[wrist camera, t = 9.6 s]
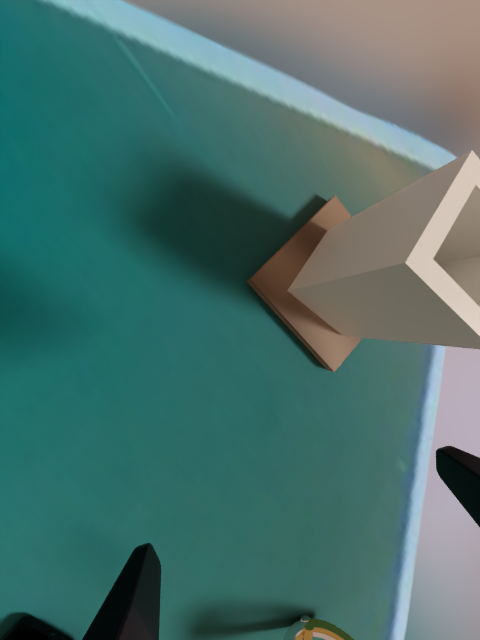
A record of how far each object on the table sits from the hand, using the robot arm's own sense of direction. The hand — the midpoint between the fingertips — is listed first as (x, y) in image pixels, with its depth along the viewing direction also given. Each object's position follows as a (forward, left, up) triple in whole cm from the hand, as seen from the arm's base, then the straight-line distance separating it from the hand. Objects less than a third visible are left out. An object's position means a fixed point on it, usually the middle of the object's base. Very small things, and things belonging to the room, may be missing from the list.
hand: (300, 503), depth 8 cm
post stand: (+12, 0, -12) cm, 17 cm away
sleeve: (+12, 0, -11) cm, 16 cm away
